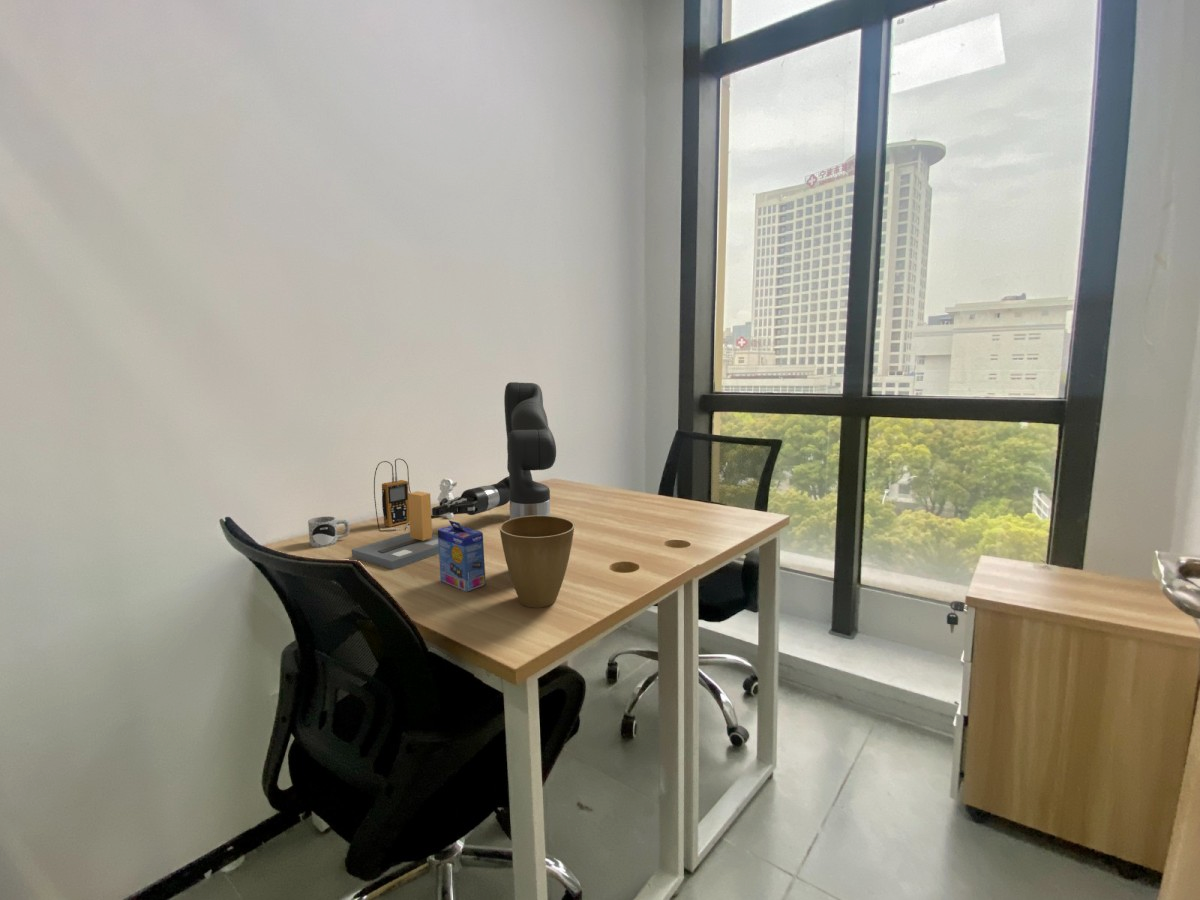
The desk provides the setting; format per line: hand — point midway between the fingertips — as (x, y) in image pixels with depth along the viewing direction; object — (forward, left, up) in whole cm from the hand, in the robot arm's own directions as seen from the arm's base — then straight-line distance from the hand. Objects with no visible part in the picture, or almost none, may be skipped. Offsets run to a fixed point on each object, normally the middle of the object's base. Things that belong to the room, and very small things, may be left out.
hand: (434, 512), depth 151 cm
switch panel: (0, +10, -9) cm, 13 cm away
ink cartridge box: (-28, +17, -9) cm, 34 cm away
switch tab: (0, +5, -6) cm, 8 cm away
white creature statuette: (+20, -21, -9) cm, 31 cm away
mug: (+24, +16, -9) cm, 30 cm away
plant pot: (-48, +15, -9) cm, 51 cm away
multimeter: (+20, -5, -9) cm, 23 cm away
